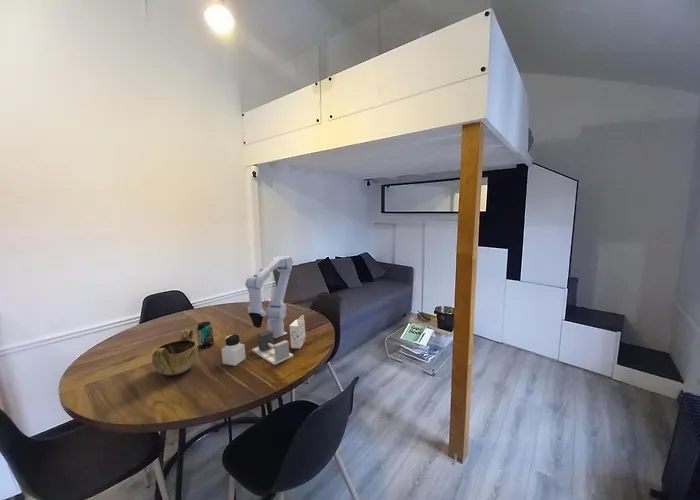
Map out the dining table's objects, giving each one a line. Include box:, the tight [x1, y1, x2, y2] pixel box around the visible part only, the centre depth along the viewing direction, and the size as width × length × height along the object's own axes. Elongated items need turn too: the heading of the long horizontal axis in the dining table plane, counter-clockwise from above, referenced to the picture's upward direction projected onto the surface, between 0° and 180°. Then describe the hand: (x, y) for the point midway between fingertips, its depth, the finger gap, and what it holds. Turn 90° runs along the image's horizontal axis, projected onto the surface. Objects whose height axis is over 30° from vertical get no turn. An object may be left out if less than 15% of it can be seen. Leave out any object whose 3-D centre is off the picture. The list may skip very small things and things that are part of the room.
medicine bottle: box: [221, 333, 247, 367], centre depth 130 cm, size 7×7×12 cm
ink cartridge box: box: [289, 314, 307, 349], centre depth 144 cm, size 9×5×15 cm, turn 168°
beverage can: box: [196, 321, 215, 349], centre depth 147 cm, size 7×7×12 cm
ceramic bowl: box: [151, 329, 199, 376], centre depth 123 cm, size 22×17×15 cm
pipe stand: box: [251, 339, 294, 366], centre depth 136 cm, size 20×10×8 cm, turn 46°
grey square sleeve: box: [257, 330, 275, 351], centre depth 139 cm, size 4×6×8 cm, turn 136°
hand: (257, 326), depth 143 cm, fingers closed
